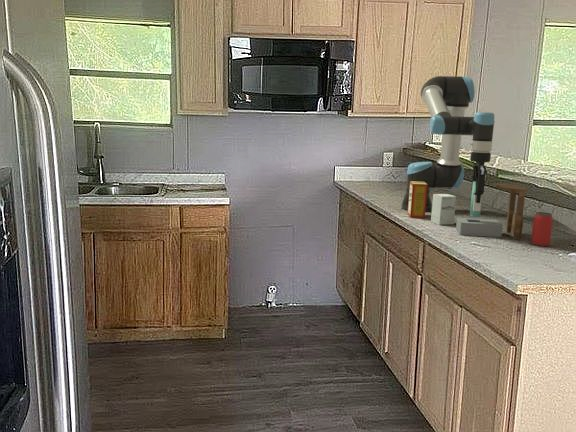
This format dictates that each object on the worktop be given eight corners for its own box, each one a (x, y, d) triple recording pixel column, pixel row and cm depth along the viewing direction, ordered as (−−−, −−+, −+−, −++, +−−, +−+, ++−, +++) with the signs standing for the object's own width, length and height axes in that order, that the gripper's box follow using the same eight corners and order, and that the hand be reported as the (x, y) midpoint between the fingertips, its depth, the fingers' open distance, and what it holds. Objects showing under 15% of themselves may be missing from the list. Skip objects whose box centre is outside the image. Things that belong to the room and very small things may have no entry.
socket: (456, 229, 232) (457, 217, 231) (495, 231, 230) (496, 219, 229) (460, 234, 222) (461, 222, 221) (501, 237, 220) (502, 224, 219)
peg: (468, 215, 227) (472, 181, 224) (478, 215, 227) (482, 181, 224) (470, 216, 223) (473, 182, 221) (480, 217, 223) (484, 182, 220)
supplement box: (439, 225, 240) (441, 196, 237) (430, 221, 247) (432, 193, 244) (454, 224, 242) (456, 196, 239) (445, 221, 249) (447, 193, 246)
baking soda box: (424, 218, 254) (427, 183, 251) (410, 217, 255) (413, 183, 251) (421, 214, 263) (424, 180, 260) (407, 213, 264) (410, 180, 261)
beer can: (533, 241, 215) (537, 211, 212) (551, 244, 211) (555, 213, 208) (528, 244, 210) (532, 213, 207) (546, 247, 206) (550, 215, 203)
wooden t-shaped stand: (489, 230, 232) (494, 183, 228) (511, 231, 231) (517, 184, 227) (497, 238, 219) (502, 187, 215) (521, 239, 218) (527, 188, 214)
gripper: (467, 149, 229) (462, 205, 233) (475, 153, 212) (469, 213, 217) (486, 150, 228) (480, 206, 232) (495, 153, 211) (489, 214, 216)
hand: (475, 209), depth 224 cm, fingers closed on peg, 4 cm apart
